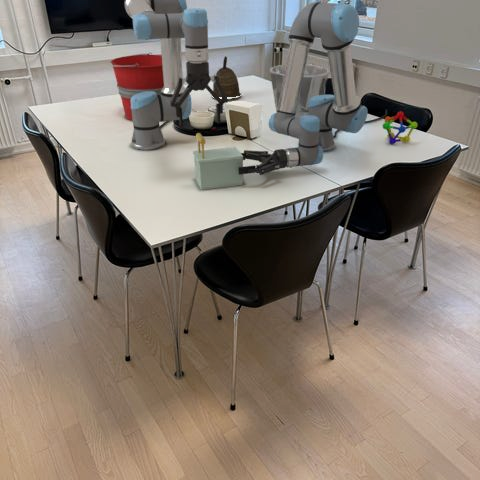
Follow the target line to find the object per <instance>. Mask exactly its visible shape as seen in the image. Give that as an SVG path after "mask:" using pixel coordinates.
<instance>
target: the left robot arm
mask: <svg viewBox="0 0 480 480" xmlns="http://www.w3.org/2000/svg"><path fill="white" fill-rule="evenodd" d="M123 4H124V5H123V6H124V9H125V12H126V13H127V15H128V16H129V17H130V18H131V19H132V28H133V33H134V37H135V38H136V39H137V40H144V41H148V40H160V41H159V42H160V55H162V68H163V80H164V87H163V88H162V89H161V95H157V94H156V92H154V91H150V92H149V91H146V92H141V93H138V94H135V95H134V96H132V98H131V109H132V117H133V121H132V125H133V132H132V135H131V139H130V140H131V142H130V143H131V147H132V148H134V149H135V150H141V151H151V150H153V151H154V150H157V149H161V148H163V147H164V146H165V144H166V140H165V137H164V135H163V132H162V130H161V128H162V127H164V126H165V125H166V124H168V123H169V122H172V121H178V122H179V124H178V125H179V126H180V128H184V120H187V119H189V118H190V116H191V113H192V95H191V93H192V91H194V92H197V91H204V90H207V91H208V93H209V94H210V95H211V97H212V96H213V97H214V98H215V99H214V98H213V99H214V100H215V101H216V103H215V107H216V108H215V117H216V123H217V124H219V125H221V114H222V115H223V113H224V105H225V103H226V104H227V103H228V102H229V100H228V99H227V97H226V95H225V93H224V91H223V89H222V87H221V85H220V83H219V78H218V76H217V75H216V74H213V75H210V63H209V33H208V32H209V30H208V29H209V27H208V23H209V19H208V12H207V10H206V9H205V8H197V7H194V8H188V6H187V0H124V3H123ZM182 39H184V49H185V50H184V51H185V60H186V62H185V67H186V76H185V77H184V73H183V72H184V71H183V58H182V57H183V56H182ZM210 82H212V83H213V82H214V83H215V85H216V87H217V89H218V91H219V93H220V95H221V97H222V99H220V98H219V97H218V96H217V95H216V94H215V93H214V91H213V88H211V86H210V85H209V84H210ZM185 83H186V84H187V86H186V87H185V86H184V84H185ZM160 122H164V123H162V124H161V125H160Z"/></svg>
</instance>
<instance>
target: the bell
mask: <svg viewBox="0 0 480 480" xmlns="http://www.w3.org/2000/svg"><path fill="white" fill-rule="evenodd" d="M227 63H228V57H227V56H224V58H223V63H222V67H221V68H219V69H218V70H217V71H216V73H215V75H217V76H218V78H219V83H220V85H221V87H222V89H223V91H224V93H225V95H226V97H236V96H240V95H241V96H242V93H241V92H240V83H239V80H238V79H239V78H238V77H237V75H236V73H235V72H234V70H232V69H231V68H230V67H227ZM212 83H213V84H212V90H213V91H214V93H215V94H216V95H217V96H218V97H221V95H220V93H219V91H218V89H217V87H216V85H215V83H214V82H212Z"/></svg>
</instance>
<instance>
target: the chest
mask: <svg viewBox="0 0 480 480" xmlns="http://www.w3.org/2000/svg"><path fill="white" fill-rule="evenodd" d="M193 158H194V159H193V160H194V161H193V162H194V178H195V181H196V183H197V186H198V187H199V189H200V190H201V191H205V190H213V189H221V188H228V187H236V186H243V185H244V174H242V175H239V167H244V160H243V159H235V160H226V161H217V162H208V163H198V161H197V160H196V158H195V156H194V155H193Z"/></svg>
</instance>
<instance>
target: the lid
mask: <svg viewBox="0 0 480 480" xmlns="http://www.w3.org/2000/svg"><path fill="white" fill-rule="evenodd" d="M195 138H196V139H197V148H198V149H197V150H195V151H192V155H193V157H194V156H195V158H196V160H197V161H198V163H208V162H217V161H226V160H235V159H243V155H242V154H241V153H242V152H240V151H239V149H238V148H237V147H236V146H231V147H221V148H212V149H205V144H206V143H207V141H206V139H205V138H204V137H203V135H202V134H201V132H197V133H195Z"/></svg>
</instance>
